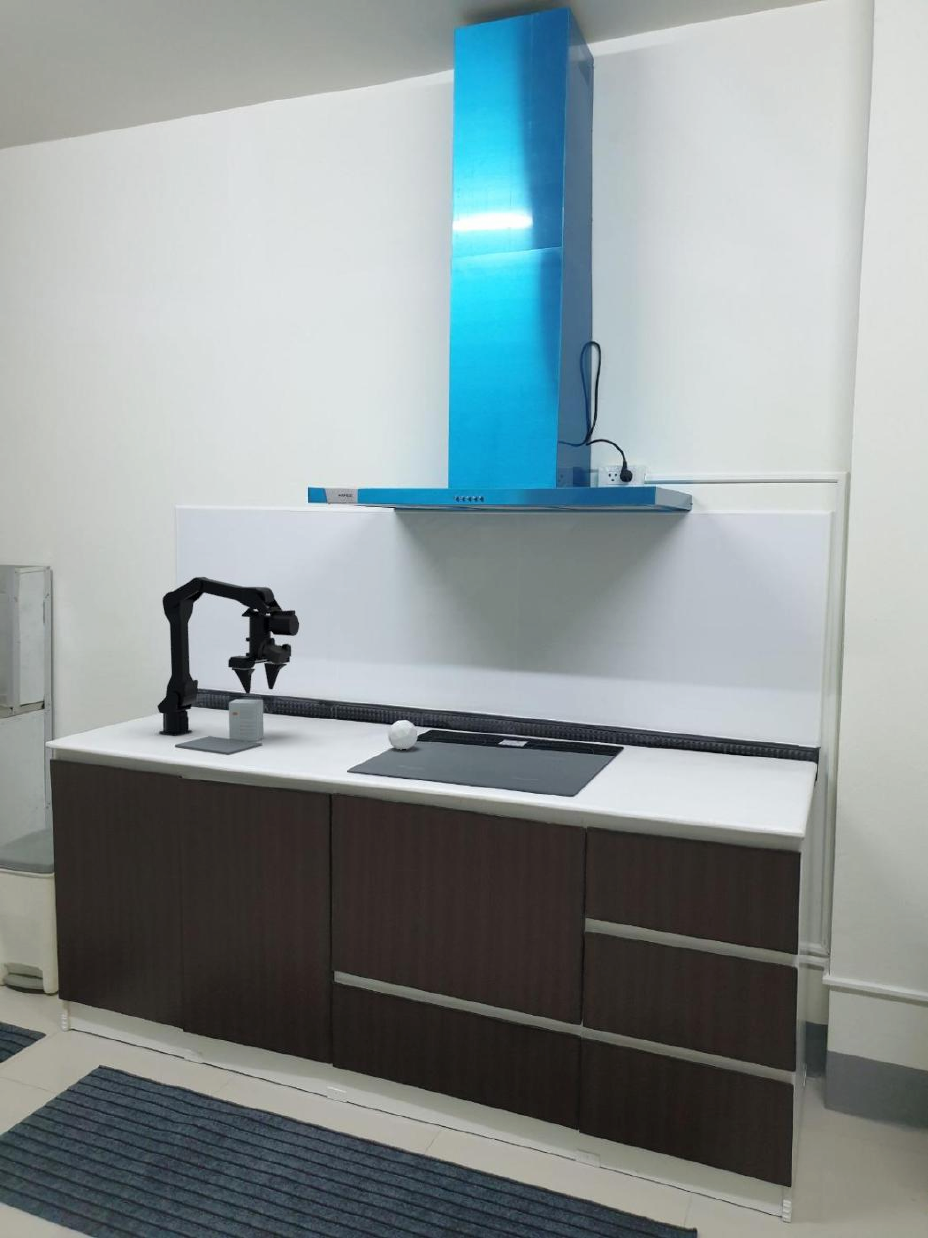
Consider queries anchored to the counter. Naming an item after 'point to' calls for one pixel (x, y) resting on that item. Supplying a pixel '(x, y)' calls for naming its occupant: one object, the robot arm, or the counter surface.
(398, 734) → the ball
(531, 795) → the counter surface
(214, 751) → the mat
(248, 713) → the small box
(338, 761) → the counter surface
